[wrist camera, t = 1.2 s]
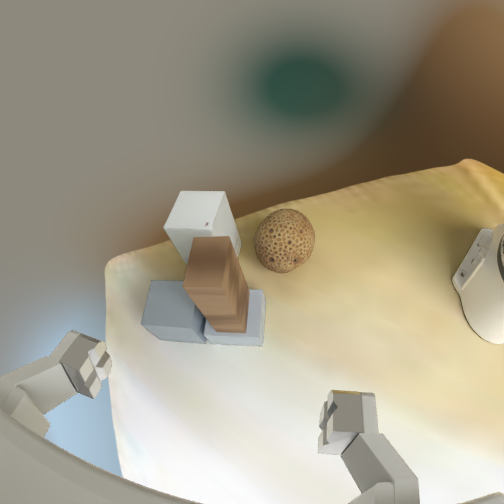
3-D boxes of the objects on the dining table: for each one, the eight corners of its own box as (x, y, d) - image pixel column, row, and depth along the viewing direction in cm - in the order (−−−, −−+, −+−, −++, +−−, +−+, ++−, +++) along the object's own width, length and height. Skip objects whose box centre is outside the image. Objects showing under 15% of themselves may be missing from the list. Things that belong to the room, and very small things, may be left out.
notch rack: (262, 346, 42) (256, 330, 37) (160, 339, 45) (140, 324, 39) (266, 301, 46) (260, 280, 41) (168, 299, 49) (151, 280, 43)
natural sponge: (305, 291, 46) (305, 254, 38) (251, 278, 49) (238, 240, 40) (319, 243, 50) (320, 201, 42) (269, 233, 53) (261, 192, 45)
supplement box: (243, 242, 53) (226, 190, 42) (232, 280, 49) (211, 231, 39) (203, 239, 55) (180, 189, 44) (190, 274, 51) (161, 228, 40)
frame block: (246, 333, 39) (221, 287, 29) (216, 332, 40) (182, 286, 29) (249, 292, 43) (229, 236, 32) (221, 292, 43) (192, 237, 33)
